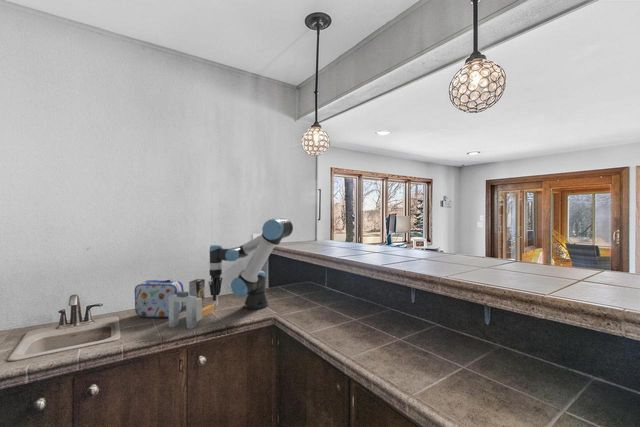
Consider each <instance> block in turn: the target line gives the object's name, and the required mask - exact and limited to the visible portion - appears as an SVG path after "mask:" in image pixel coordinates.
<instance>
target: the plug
mask: <svg viewBox="0 0 640 427" xmlns="http://www.w3.org/2000/svg"><path fill="white" fill-rule="evenodd" d="M214 311H215V306H214V304H213V303H212V304H210V303H209V304H207V305H205V306H203V304H202V298H196V323H197V322H199V321H200V320H202V319H203V317H205V316H207V315H208V314H210V313H212V312H214ZM185 313H186V314H185V315H186V316H185V322H187V302H185Z"/></svg>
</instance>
